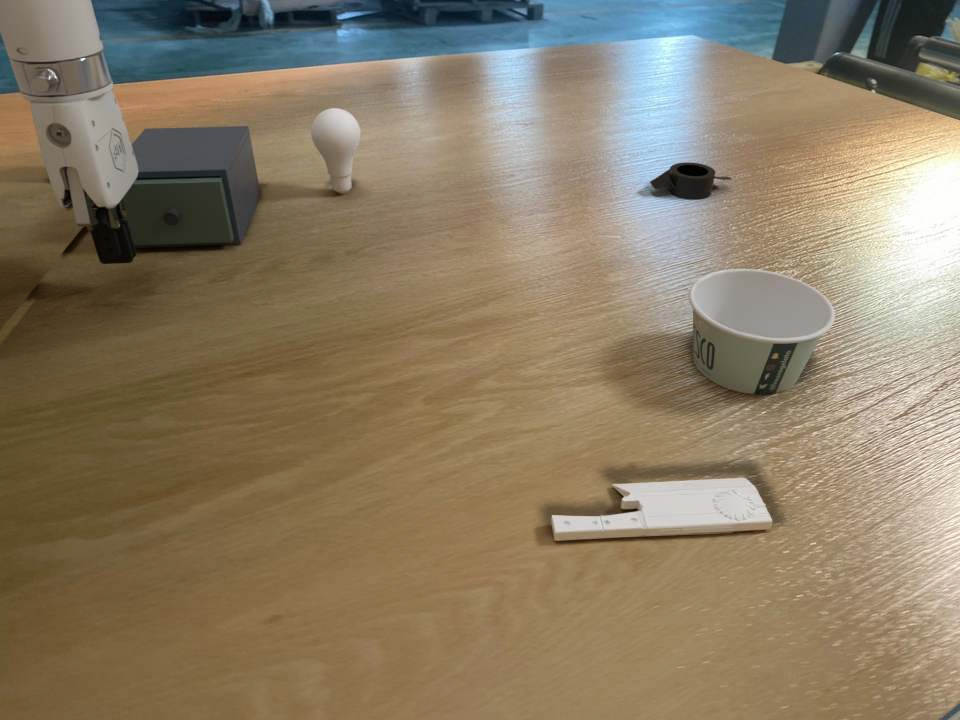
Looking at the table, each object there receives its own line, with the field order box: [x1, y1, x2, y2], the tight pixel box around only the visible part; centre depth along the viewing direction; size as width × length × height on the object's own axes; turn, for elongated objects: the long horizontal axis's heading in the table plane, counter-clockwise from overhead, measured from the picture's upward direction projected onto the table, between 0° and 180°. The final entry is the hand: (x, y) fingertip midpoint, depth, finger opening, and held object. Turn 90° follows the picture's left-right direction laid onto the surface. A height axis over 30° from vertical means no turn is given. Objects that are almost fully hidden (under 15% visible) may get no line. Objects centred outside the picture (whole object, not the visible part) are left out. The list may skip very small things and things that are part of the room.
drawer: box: [122, 176, 234, 246], centre depth 89 cm, size 15×11×7 cm
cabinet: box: [131, 125, 261, 249], centre depth 91 cm, size 15×13×9 cm
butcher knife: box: [550, 477, 773, 542], centre depth 54 cm, size 5×15×1 cm, turn 94°
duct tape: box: [649, 161, 732, 201], centre depth 100 cm, size 8×10×3 cm
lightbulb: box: [310, 107, 362, 195], centre depth 97 cm, size 6×6×11 cm
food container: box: [688, 268, 836, 395], centre depth 67 cm, size 12×12×7 cm
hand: (119, 259), depth 78 cm, fingers closed
